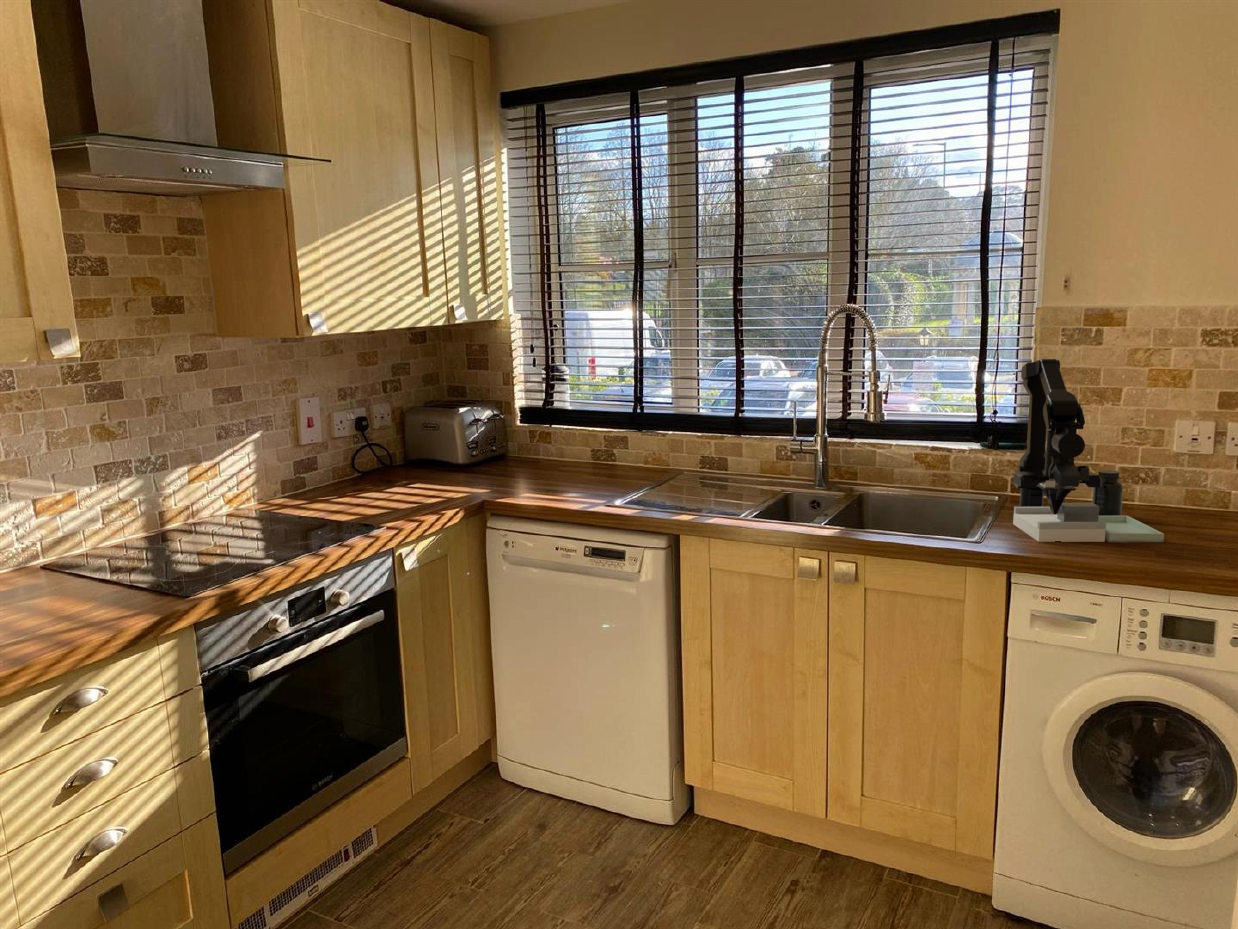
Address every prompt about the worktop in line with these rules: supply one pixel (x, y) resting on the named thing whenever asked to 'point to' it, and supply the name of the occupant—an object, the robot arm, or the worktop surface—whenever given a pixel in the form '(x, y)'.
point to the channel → (1056, 526)
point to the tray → (1129, 530)
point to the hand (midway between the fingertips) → (1054, 514)
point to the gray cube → (1089, 512)
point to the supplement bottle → (1108, 494)
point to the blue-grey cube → (1070, 512)
